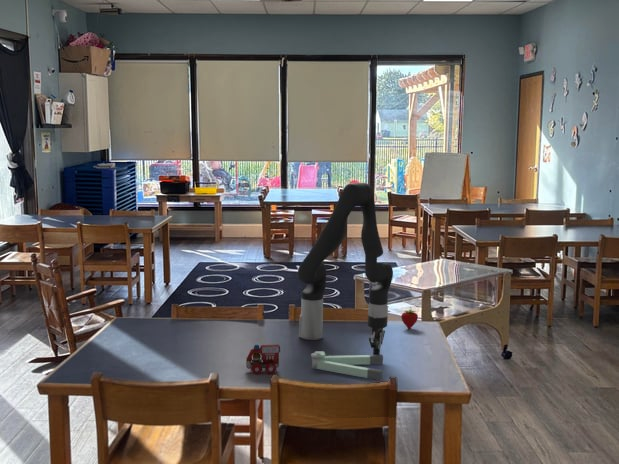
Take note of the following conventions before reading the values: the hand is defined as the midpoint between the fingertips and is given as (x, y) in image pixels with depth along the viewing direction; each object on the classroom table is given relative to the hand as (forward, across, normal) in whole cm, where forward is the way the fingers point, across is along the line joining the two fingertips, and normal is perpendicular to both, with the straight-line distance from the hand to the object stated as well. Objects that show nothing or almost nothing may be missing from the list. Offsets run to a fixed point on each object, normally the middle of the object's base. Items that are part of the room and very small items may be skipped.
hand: (376, 357), depth 274 cm
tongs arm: (+1, +11, -8) cm, 13 cm away
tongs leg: (+2, +17, -6) cm, 18 cm away
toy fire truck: (+2, +29, -34) cm, 45 cm away
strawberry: (+2, -46, 0) cm, 46 cm away
